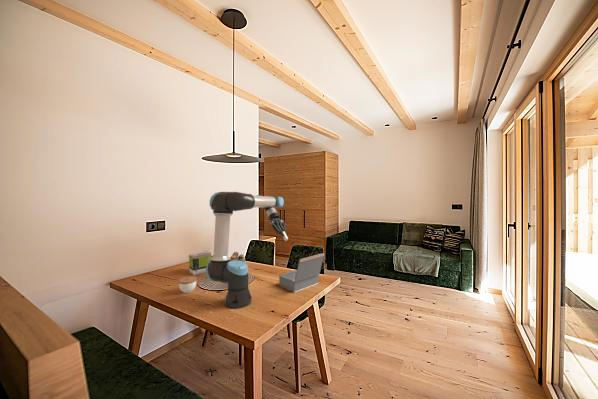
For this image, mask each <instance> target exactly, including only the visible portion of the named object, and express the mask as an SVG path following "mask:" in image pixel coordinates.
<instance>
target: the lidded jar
mask: <svg viewBox="0 0 598 399" xmlns="http://www.w3.org/2000/svg"><path fill="white" fill-rule="evenodd" d="M178 286H179V290H180V291H181V292H182V293H184V294H188V293H192V292H193V291H194V290H195V288H196V287H197V277H196V276H185V277H181V278H180V279H178Z"/></svg>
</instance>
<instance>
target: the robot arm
mask: <svg viewBox="0 0 598 399" xmlns="http://www.w3.org/2000/svg"><path fill="white" fill-rule="evenodd" d="M284 203H285V200H284V198H283V197H282V196H265V195H259V194H258V195H253V194H251V193H246V192H239V191H218V192H214V193H213V194H211V196H210V200H209V207H210V209H211V210H212V214H213V215H214V217H215V219H214V220H215V222H214V236H213V239H214V240H213V252H212V253H213V256H211V259H210V262H209V263H208V265H207V266H206V272H205V275H206V278H207V279H209V280H210V281H213V282H217V283H222V284H227V292H226V295H225V298H224V305H225V306H226V307H227V308H229V309H240V308H243V307H244V308H245V307H246V306H249V305H250V304H251V303H252V301H253V300H252V294H251V291H250V288H249V268H248V267H249V266H248V264H247V263H246V261H245V262H243V261H236V260H234V261H230V257H229V244H230V243H229V242H230V228H231V227H230V226H231V225H230V224H231V223H230V222H231V216H233V214H234V212H239V211H240V212H241V211H246V210H253V208H261V209H263V210H264V211H265V213H266V215H267V217H268V219H269V221H270V222H269V226H271V227H272V229H274V230H275V232H276V233H277V234H279V235H280V236H281V237H282V238H283V240H284V241H285V242H287V241H288V240H289V237H288V236H287V235H288V234H287V226H286V224H285V222H286V221H285V219H284V220H282V219H281V217H280V215H279V213H278V211H277V209H276V208H282V207H283V206H284Z"/></svg>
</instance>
